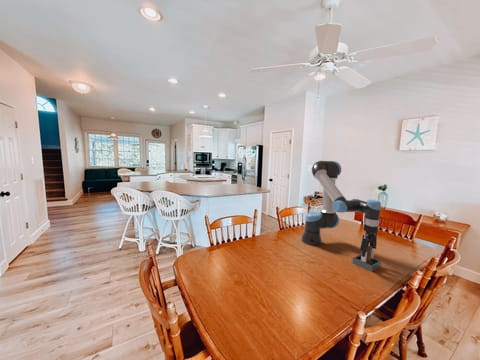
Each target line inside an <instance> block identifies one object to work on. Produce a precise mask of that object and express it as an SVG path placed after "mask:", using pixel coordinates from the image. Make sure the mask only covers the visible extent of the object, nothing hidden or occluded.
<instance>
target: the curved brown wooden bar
mask: <svg viewBox="0 0 480 360" xmlns="http://www.w3.org/2000/svg"><path fill="white" fill-rule="evenodd" d="M366 252H367V258H366V263H368V264H370V260H371V252H372V246H370V244H369V245H368V248H367V251H366Z"/></svg>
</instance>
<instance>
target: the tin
mask: <svg viewBox="0 0 480 360" xmlns="http://www.w3.org/2000/svg"><path fill="white" fill-rule="evenodd" d="M361 255H362V253H361V254H358V255H356V256H354V257H352V264H354V265H356V266H358V267H360V268H363V269H365V270H366V271H369V272H371V273H372V272H374V271H376V270H378V269H379V268H381V267H382V260H379V259H377V258H374V257H373V259H372V258H371V260H370V264H368V263H366V262H363V261H361Z"/></svg>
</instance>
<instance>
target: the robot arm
mask: <svg viewBox="0 0 480 360" xmlns="http://www.w3.org/2000/svg"><path fill="white" fill-rule="evenodd" d="M311 173H312V175H313V177H314V178H315V179H316V180H317V181H318V182H319V183H320V185H321V187H322V188H323V190H322V191H323V192H322V209H321V210H320V212H318V211H309V212H307V213H306V215H305V223H304V224H305V225H304V232H303V234H302V236H301V242H303V243H304V244H306V245H311V246H320V245H322V242H323V241H322V240H323V239H322V235H321V230H322V229H334V228H337V227H338V226H339V224H340V217H339V215H338V214H337V213H355V212H356V213H357V212H358V213H362V214H364V221H363V223H364V225H363V230H364V231H365V234H362V237H361V238H362V239H361V242H360V243H361V244H360V249H359V251H360V252H361V254H362V255H361V261H363V262H366V258H367V252H366V251H367V248H368V245H369V246H372V252H371V258H372V259H373V258H374V254H375V249H376V250H377V243H378V242H377V241H378V240H377V239H378V238H377V237H378V232H379V224H380V223H381V221H380V215H381V210H382V202H381V201H380V200H377V199H376V200H374V199H368V200H366V201H365V200H361V199H359V198H353V199H350V200H348V199H347V198H346V197H345V196H344V194H343V193H342V192H341V190H340V189H339V188H338V186H337V185H336V180H337V179H338V176H340V175H341V174H342V166H341V164H340V163H339V162H337V161H336V160H335V161H334V160H318V161H316V162H314V164H313V165H312V167H311Z"/></svg>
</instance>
